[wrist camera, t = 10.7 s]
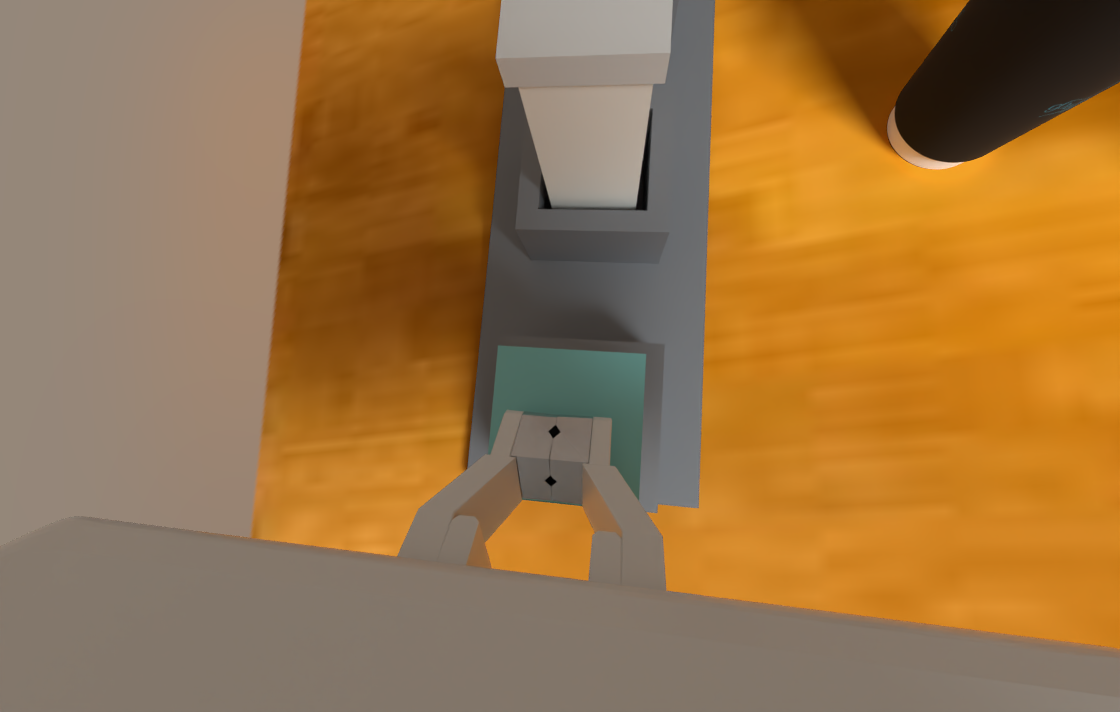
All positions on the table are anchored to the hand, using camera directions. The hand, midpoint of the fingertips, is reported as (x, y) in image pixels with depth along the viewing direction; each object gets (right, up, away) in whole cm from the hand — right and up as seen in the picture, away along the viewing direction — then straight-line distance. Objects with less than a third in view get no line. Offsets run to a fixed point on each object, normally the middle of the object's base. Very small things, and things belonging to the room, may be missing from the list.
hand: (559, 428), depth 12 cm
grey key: (+2, +11, +8) cm, 14 cm away
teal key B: (+1, -1, +9) cm, 10 cm away
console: (+2, +11, +12) cm, 16 cm away
